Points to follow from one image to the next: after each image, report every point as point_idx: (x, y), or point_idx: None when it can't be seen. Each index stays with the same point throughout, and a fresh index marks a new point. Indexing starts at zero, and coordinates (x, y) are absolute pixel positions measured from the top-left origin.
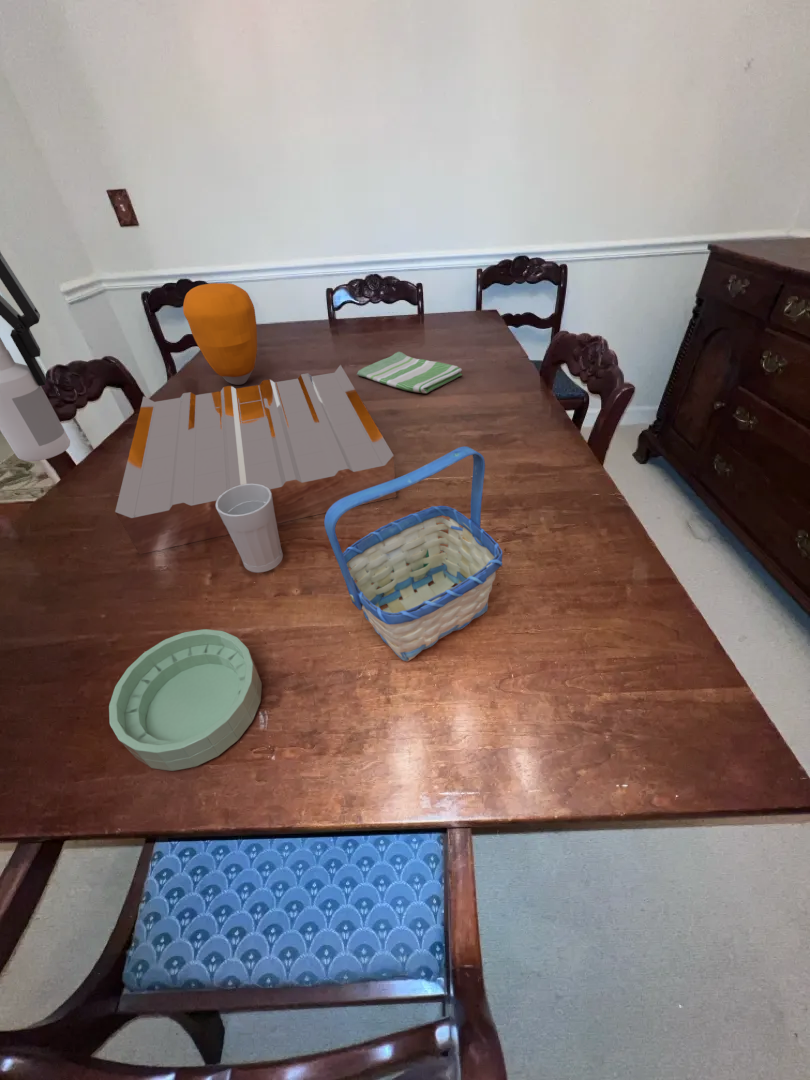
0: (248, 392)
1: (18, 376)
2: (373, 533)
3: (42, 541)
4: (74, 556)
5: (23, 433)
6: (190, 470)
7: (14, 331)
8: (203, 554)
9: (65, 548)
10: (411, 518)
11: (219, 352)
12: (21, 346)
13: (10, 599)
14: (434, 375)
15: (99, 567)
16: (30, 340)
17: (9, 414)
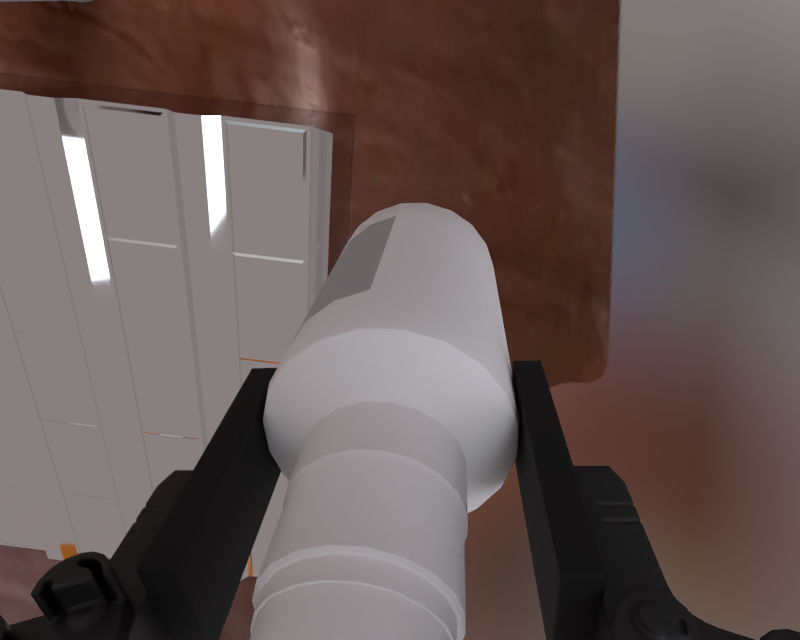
0: (98, 534)
1: (291, 367)
2: None
3: (548, 264)
4: (487, 178)
5: (414, 232)
6: (185, 271)
7: (182, 621)
8: (213, 41)
9: (504, 217)
10: None
11: None
12: (183, 505)
13: (613, 85)
14: None
15: (436, 109)
16: (134, 541)
17: (418, 265)
